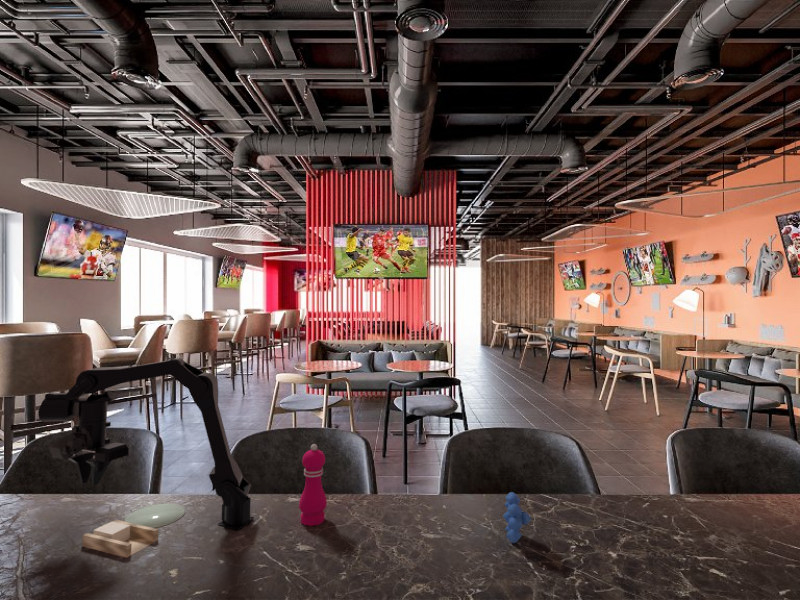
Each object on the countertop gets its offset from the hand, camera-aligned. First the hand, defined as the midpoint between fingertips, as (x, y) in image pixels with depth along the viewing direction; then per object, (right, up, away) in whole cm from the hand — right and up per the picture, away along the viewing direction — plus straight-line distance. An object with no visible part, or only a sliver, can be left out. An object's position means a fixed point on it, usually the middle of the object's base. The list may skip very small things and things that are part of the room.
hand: (89, 484), depth 104 cm
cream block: (+7, -12, -3) cm, 15 cm away
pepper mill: (+53, -14, +9) cm, 55 cm away
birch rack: (+10, -12, -4) cm, 17 cm away
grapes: (+104, -14, -2) cm, 105 cm away
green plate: (+11, -13, +9) cm, 19 cm away
